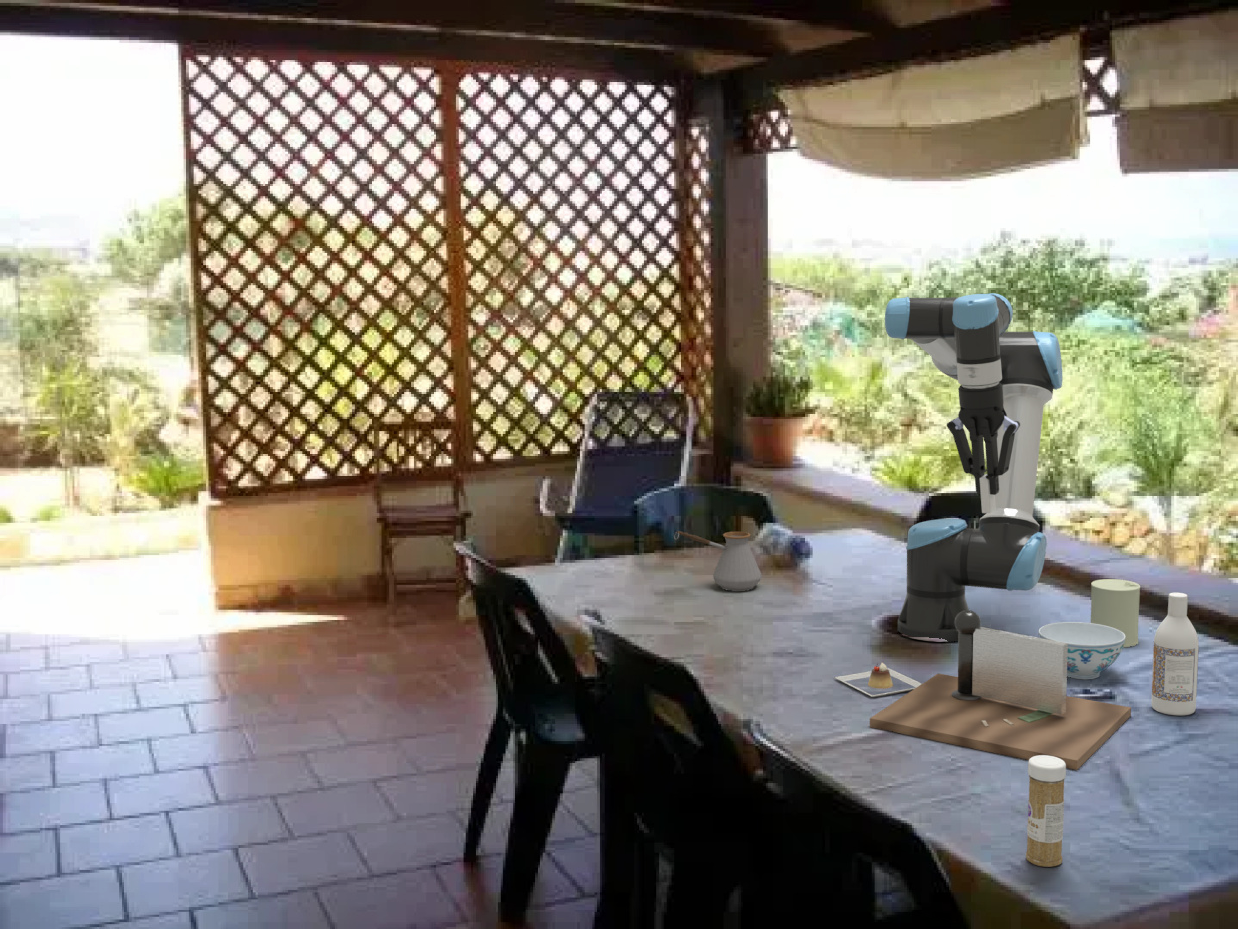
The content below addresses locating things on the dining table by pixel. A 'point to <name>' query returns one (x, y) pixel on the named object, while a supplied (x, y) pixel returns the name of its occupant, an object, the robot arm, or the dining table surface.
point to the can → (1116, 607)
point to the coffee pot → (733, 562)
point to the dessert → (880, 679)
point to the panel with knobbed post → (1010, 666)
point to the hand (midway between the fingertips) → (988, 510)
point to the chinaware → (1086, 646)
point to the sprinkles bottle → (1045, 810)
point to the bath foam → (1175, 661)
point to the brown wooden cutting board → (1002, 722)
